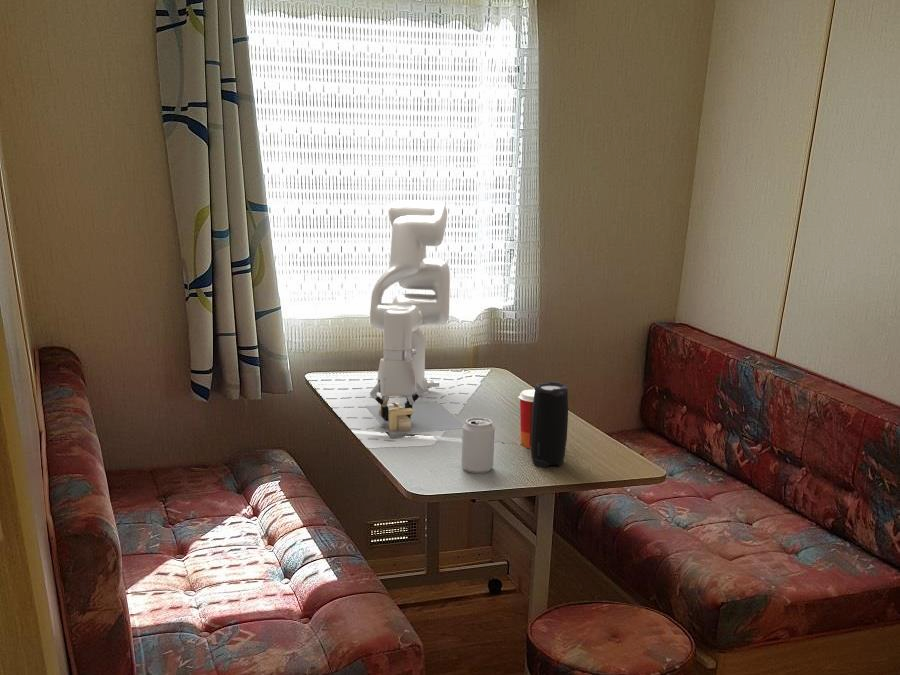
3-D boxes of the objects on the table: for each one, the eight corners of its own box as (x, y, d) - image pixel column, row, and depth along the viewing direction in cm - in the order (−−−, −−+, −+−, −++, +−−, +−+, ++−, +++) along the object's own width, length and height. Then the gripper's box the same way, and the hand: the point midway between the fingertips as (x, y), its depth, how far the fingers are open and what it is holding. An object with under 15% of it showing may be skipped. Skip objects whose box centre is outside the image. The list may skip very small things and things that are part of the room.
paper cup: (549, 442, 213) (552, 390, 210) (543, 451, 206) (545, 398, 203) (520, 438, 215) (522, 387, 212) (513, 447, 208) (515, 394, 205)
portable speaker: (550, 454, 204) (554, 378, 200) (573, 466, 196) (578, 388, 192) (521, 459, 200) (525, 382, 196) (543, 471, 192) (548, 391, 188)
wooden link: (378, 413, 230) (378, 403, 230) (397, 412, 232) (397, 402, 231) (395, 431, 215) (395, 420, 214) (414, 430, 217) (415, 419, 216)
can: (460, 463, 196) (461, 415, 193) (490, 463, 197) (492, 415, 194) (463, 474, 189) (464, 425, 186) (495, 474, 189) (497, 425, 187)
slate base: (436, 403, 245) (436, 383, 244) (469, 431, 220) (469, 409, 219) (365, 409, 237) (365, 388, 236) (390, 438, 213) (391, 415, 211)
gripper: (423, 350, 226) (422, 412, 229) (362, 353, 220) (362, 417, 224) (432, 355, 219) (430, 420, 223) (370, 359, 213) (369, 425, 217)
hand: (396, 418), depth 223 cm, fingers open, 5 cm apart
